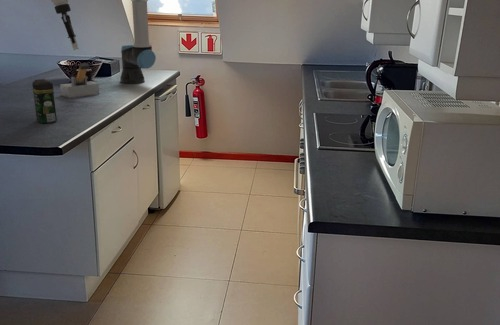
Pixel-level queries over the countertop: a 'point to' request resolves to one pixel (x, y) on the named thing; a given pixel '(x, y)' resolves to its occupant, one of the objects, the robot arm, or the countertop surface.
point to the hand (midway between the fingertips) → (76, 49)
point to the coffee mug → (88, 74)
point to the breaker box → (79, 88)
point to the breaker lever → (81, 73)
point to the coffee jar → (44, 101)
